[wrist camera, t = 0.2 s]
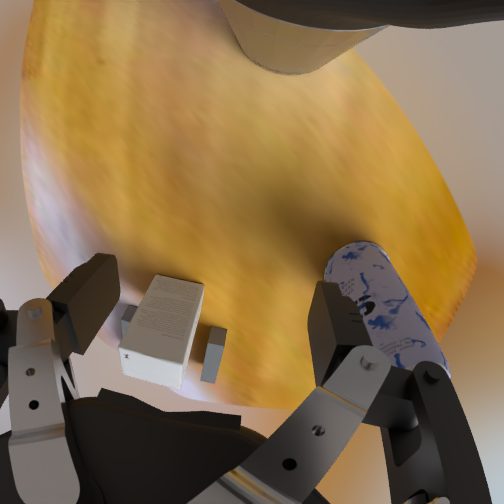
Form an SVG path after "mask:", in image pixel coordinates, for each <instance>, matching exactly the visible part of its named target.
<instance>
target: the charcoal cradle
mask: <svg viewBox="0 0 504 504" xmlns="http://www.w3.org/2000/svg"><path fill="white" fill-rule="evenodd" d="M137 308H138V307H135V306H132V305H129V307H128V308H127V310H126V312H125V314H124V315H123V317H122V319H121V326H122V338H123V336H124V334H125V332H126V330H127V328H128V326H129V324H130V322H131V320H132V318H133V316H134V314H135V312H136V310H137ZM226 333H227V329H222V328H218V327H213V326H211V331H210V335H209V339H208V344H207V349H206V354H205V359H204V364H203V369H202V374H201V379H200V381H205V382H209V383H214V384H215V380H216V376H217V373H218V369H219V365H220V361H221V357H222V353H223V349H224V345H225V339H226Z"/></svg>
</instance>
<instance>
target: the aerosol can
mask: <svg viewBox="0 0 504 504" xmlns="http://www.w3.org/2000/svg"><path fill="white" fill-rule="evenodd" d="M324 280H325V281H326V282H336V283H338V285H339V287H340V290H341V293H342V296H349V297H350V298H351V299H352V300H353V301H354V302H355V303H356V304H357V306H358V308H359V311H360V313H361V314H360V315H361V316H362V318H363V323H365V326H366V329H367V331H368V334H369V336H370V339H371V342H372V344H373V347H375V348H378V349H379V350H381V351H382V352H384V353H385V354H386V355H387V357H388V358H389V360H390V363H391V365H392V366H395V367H399V368H403V369H407V370H411V371H412V370H413V369H414V367H415V366H416V364H417V363H419V362H421V361H431V362H434V363H437V364H438V365H440V366H441V367H443V368H444V369H445V371H446V372H447V374H448V375H449V378H450V380H451V374H450V369H449V365H448V362H447V360H446V358H445V356H444V354H443V352H442V350H441V348H440V346H439V344H438V342H437V340H436V339H435V337H434V335H433V333H432V331H431V329H430V328H429V326H428V324H427V322H426V320H425V319H424V317H423V315H422V313H421V312H420V310H419V308H418V306H417V305H416V303H415V301H414V300H413V298H412V296H411V295H410V293H409V291H408V290H407V288H406V286H405V285H404V283H403V282H402V280H401V278H400V277H399V275H398V274H397V272H396V270H395V269H394V267H393V266H392V264H391V263H390V259H389V257H388V256H387V254H386V252H385V251H384V250H383V249H382V248H381V247H380V246H378V245H377V244H374V243H371V242H368V241H357V242H353V243H350V244H347V245H345V246H343V247H342V248H340V249H339V250H337V251H336V252H335V253H334V254H333V255H332V257H331V258H330V259H329V261H328V263H327V265H326V267H325V272H324Z"/></svg>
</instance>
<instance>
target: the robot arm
mask: <svg viewBox="0 0 504 504" xmlns="http://www.w3.org/2000/svg"><path fill="white" fill-rule="evenodd" d="M217 1H218V3H219V5H220V7H221V9H222V11H223V13H224V15H225V16H226V18H227V20H228V22H229V24H230V26H231V28H232V30H233V32H234V34H235V37H236V38H237V40H238V42H239V44H240V46H241V48H242V50H243V51H244V53H245V54H246V55H247V57H248V58H249V59H250V60H252V61H253V62H254V63H255V64H256V65H258V66H260V67H262V68H263V69H265V70H268V71H271V72H274V73H276V74H283V75H300V74H305V73H309V72H312V71H314V70H316V69H319V68H320V67H322V66H323V65H325V64H327V63H328V62H330V61H332V60H333V59H335V58H336V57H338V56H339V55H341V54H343V53H344V52H346V51H347V50H349V49H351V48H352V47H354V46H355V45H357V44H359V43H361V42H362V41H364V40H366V39H368V38H369V37H371V36H373V35H375V34H376V33H378V32H379V31H381V30H383V29H385V28H387V27H388V26H390V25H393V26H400V27H407V28H419V29H421V28H422V29H434V28H447V27H454V26H461V25H467V24H474V23H481V22H489V21H500V20H504V0H217ZM119 297H120V282H119V275H118V267H117V259H116V257H115V255H111V254H104V253H96V254H95V255H94V256H93V257H92V258H91V259H90V260H89V261H88V262H87V263H84V264H82V265H80V266H78V267H76V268H75V269H74V270H73V271H72V272H71V273H70V274H69V276H67V277H66V278H65V279H64V280H63V282H61V283H60V284H59V285H58V286H57V287H56V288H55V289H54V290H53V291H52V292H51V293H50V294H49V296H48V297H47V298H46V299H43V298H36V299H32V300H29V301H27V302H26V303H24V304H23V305H22V306H21V307H20V309H19V310H6V309H5V306H4V303H3V301H2V300H1V299H0V408H1V406H2V404H3V403H4V401H5V399H6V397H7V395H8V394H9V406H10V418H11V428H12V430H10V431H8V432H6V433H4V434H1V435H0V504H330V503H329V502H328V501H327V500H326V499H325V498H324V497H323V496H322V495H321V494H320V493H319V492H318V491H317V490H316V489H315V487H316V486H317V484H318V483H319V482H320V481H321V479H322V478H323V477H324V475H325V474H326V473H327V471H328V470H329V469H330V467H331V466H332V465H333V463H334V462H335V460H336V459H337V458H338V456H339V455H340V453H341V452H342V451H343V449H344V448H345V446H346V445H347V443H348V442H349V440H350V439H351V437H352V436H353V434H354V433H355V431H356V430H357V428H358V427H359V425H360V423H361V422H362V423H366V424H370V425H374V426H379V427H380V430H381V435H382V441H383V447H384V453H385V459H386V466H387V472H388V479H389V487H390V495H391V503H392V504H492V501H491V496H490V492H489V488H488V484H487V481H486V477H485V474H484V470H483V466H482V463H481V460H480V457H479V453H478V450H477V447H476V444H475V442H474V438H473V436H472V433H471V430H470V427H469V425H468V422H467V419H466V416H465V414H464V411H463V409H462V406H461V404H460V401H459V399H458V396H457V394H456V392H455V389H454V387H453V385H452V382H451V380H450V378H449V375H448V374H447V372H446V371H445V369H444V368H443V367H441V366H440V365H438V364H437V363H434V362H431V361H421V362H419V363H417V364H416V366H415V367H414V369H413V370H412V371H411V370H407V369H403V368H399V367H395V366H392V365H391V363H390V360H389V358H388V357H387V355H386V354H385V353H384V352H382V351H381V350H379V349H378V348H375V347H373V344H372V342H371V339H370V336H369V334H368V331H367V329H366V326H365V323H363V318H362V316H361V315H360V314H361V313H360V311H359V308H358V306H357V304H356V303H355V302H354V301H353V300H352V299H351V298H350V297H349V296H342V293H341V290H340V287H339V285H338V283H336V282H326V281H318V282H317V284H316V288H315V292H314V296H313V299H312V303H311V307H310V311H309V315H308V324H307V326H308V334H309V341H310V347H311V354H312V361H313V368H314V375H315V382H316V388H315V389H314V390H313V391H312V392H311V394H310V395H309V396H308V397H307V398H306V399H305V400H304V401H303V403H302V404H301V405H300V406H299V407H298V408H297V409H296V410H295V411H294V412H293V414H291V416H290V417H289V418H288V419H287V420H286V421H285V422H284V423H283V424H282V425H281V426H280V427H279V428H278V429H277V430H276V431H275V432H274V433H273V434H272V435H271V436H270V437H269V438H268V439H267V438H266V437H264V436H263V435H261V434H259V433H258V432H256V431H253V430H251V429H249V428H247V427H244V426H241V425H240V424H241V415H231V414H223V413H216V412H209V411H191V412H165V411H161V410H160V409H157V408H155V407H153V406H151V405H149V404H147V403H145V402H142V401H141V400H139V399H137V398H135V397H133V396H129V395H125V394H122V393H118V392H114V391H111V390H107V389H104V388H101V390H100V392H99V394H98V396H97V397H84V398H80V397H79V393H78V389H77V385H76V381H75V377H74V372H73V367H72V362H71V359H70V357H69V356H70V354H71V353H72V352H74V353H77V354H81V355H84V353H85V351H86V350H87V348H88V347H89V345H90V343H91V342H92V340H93V339H94V337H95V336H96V334H97V333H98V331H99V329H100V328H101V326H102V325H103V323H104V322H105V320H106V319H107V317H108V316H109V314H110V313H111V311H112V310H113V308H114V307H115V305H116V304H117V302H118V300H119Z"/></svg>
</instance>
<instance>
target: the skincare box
mask: <svg viewBox="0 0 504 504" xmlns="http://www.w3.org/2000/svg"><path fill="white" fill-rule="evenodd" d="M204 287H205V286H204V285H203V284H198V283H193V282H188V281H184V280H179V279H174V278H170V277H166V276H161V275H155V277H154V279H153V280H152V282H151V284H150V286H149V288H148V290H147V291H146V293H145V295H144V297H143V299H142V301H141V303H140V304H139V306H138V308H137V310H136V312H135V314H134V316H133V318H132V320H131V322H130V324H129V326H128V328H127V330H126V332H125V334H124V336H123V338H122V340H121V342H120V344H119V346H118V351H119V356H120V361H121V366H122V371H123V374H124V375H127V376H131V377H134V378H138V379H142V380H145V381H149V382H153V383H157V384H161V385H164V386H168V387H172V388H177V389H181V387H182V383H183V379H184V375H185V371H186V367H187V363H188V359H189V355H190V351H191V347H192V343H193V339H194V335H195V331H196V328H197V324H198V320H199V317H200V313H201V306H202V300H203V294H204Z"/></svg>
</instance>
